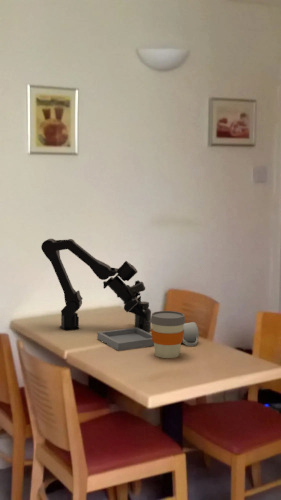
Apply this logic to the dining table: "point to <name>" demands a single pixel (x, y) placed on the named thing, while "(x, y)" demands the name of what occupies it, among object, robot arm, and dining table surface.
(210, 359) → the dining table surface
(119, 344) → the tray
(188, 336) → the ceramic mug
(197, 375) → the dining table surface
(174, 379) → the dining table surface
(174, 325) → the reusable coffee cup
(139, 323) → the supplement bottle
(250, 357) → the dining table surface
